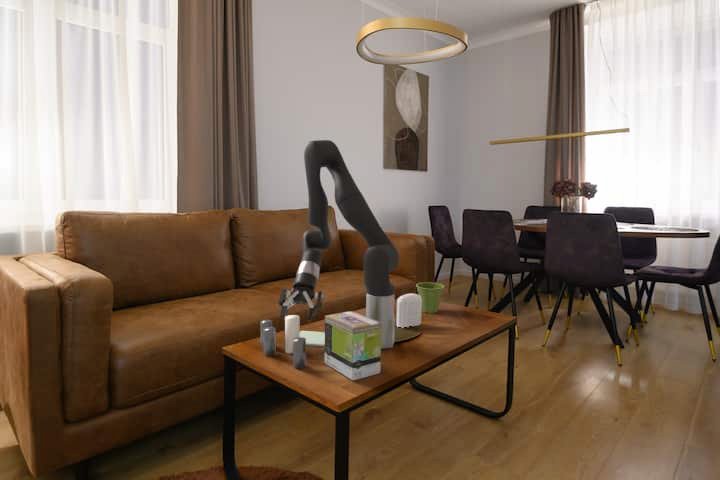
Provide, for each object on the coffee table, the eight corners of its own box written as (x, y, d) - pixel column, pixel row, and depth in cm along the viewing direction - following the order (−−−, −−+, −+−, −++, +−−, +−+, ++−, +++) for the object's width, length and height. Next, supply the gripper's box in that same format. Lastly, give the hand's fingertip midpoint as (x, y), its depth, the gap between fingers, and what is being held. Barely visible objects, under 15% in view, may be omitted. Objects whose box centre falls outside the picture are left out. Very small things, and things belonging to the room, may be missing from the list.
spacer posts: (344, 349, 140) (344, 325, 139) (330, 371, 122) (331, 344, 121) (263, 342, 145) (263, 319, 144) (239, 363, 127) (238, 336, 126)
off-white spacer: (301, 348, 140) (301, 315, 138) (297, 354, 135) (296, 319, 134) (288, 347, 140) (287, 314, 139) (283, 352, 136) (282, 318, 135)
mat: (334, 334, 154) (334, 333, 154) (325, 346, 142) (325, 344, 142) (301, 332, 156) (301, 330, 156) (290, 343, 144) (290, 341, 144)
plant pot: (409, 310, 185) (410, 284, 184) (427, 306, 193) (427, 281, 192) (431, 317, 177) (432, 289, 175) (449, 311, 185) (450, 285, 183)
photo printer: (415, 322, 169) (416, 291, 168) (422, 325, 166) (423, 293, 164) (394, 326, 164) (395, 294, 162) (401, 329, 160) (402, 296, 159)
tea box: (381, 373, 122) (382, 321, 120) (352, 382, 116) (352, 328, 114) (351, 356, 134) (352, 309, 132) (323, 363, 128) (323, 314, 127)
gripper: (284, 270, 149) (271, 312, 139) (325, 272, 146) (314, 315, 136) (290, 282, 154) (278, 323, 145) (328, 284, 152) (319, 326, 142)
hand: (295, 319), depth 140 cm, fingers open, 8 cm apart
